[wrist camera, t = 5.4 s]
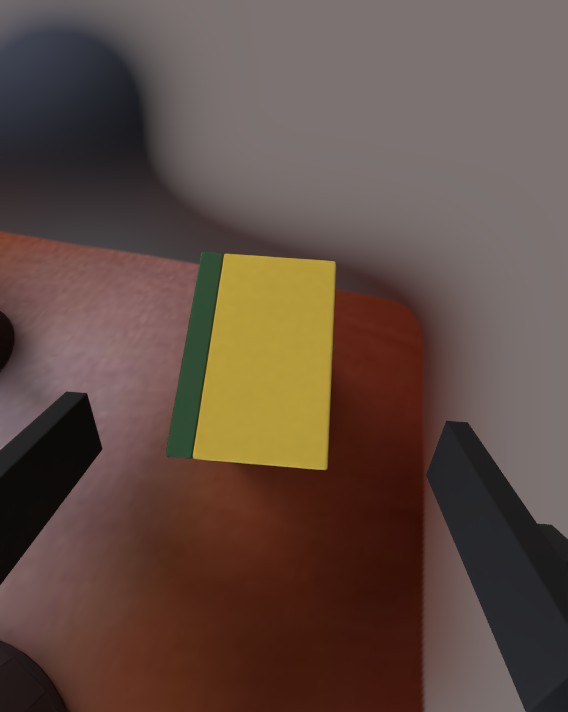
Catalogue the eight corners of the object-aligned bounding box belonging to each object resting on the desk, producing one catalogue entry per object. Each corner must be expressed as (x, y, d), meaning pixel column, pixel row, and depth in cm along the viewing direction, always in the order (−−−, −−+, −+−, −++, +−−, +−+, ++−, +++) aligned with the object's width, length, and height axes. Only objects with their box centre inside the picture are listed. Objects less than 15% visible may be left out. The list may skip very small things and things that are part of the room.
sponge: (311, 353, 22) (336, 260, 11) (304, 462, 20) (328, 470, 9) (240, 347, 22) (201, 250, 12) (227, 455, 20) (164, 456, 10)
